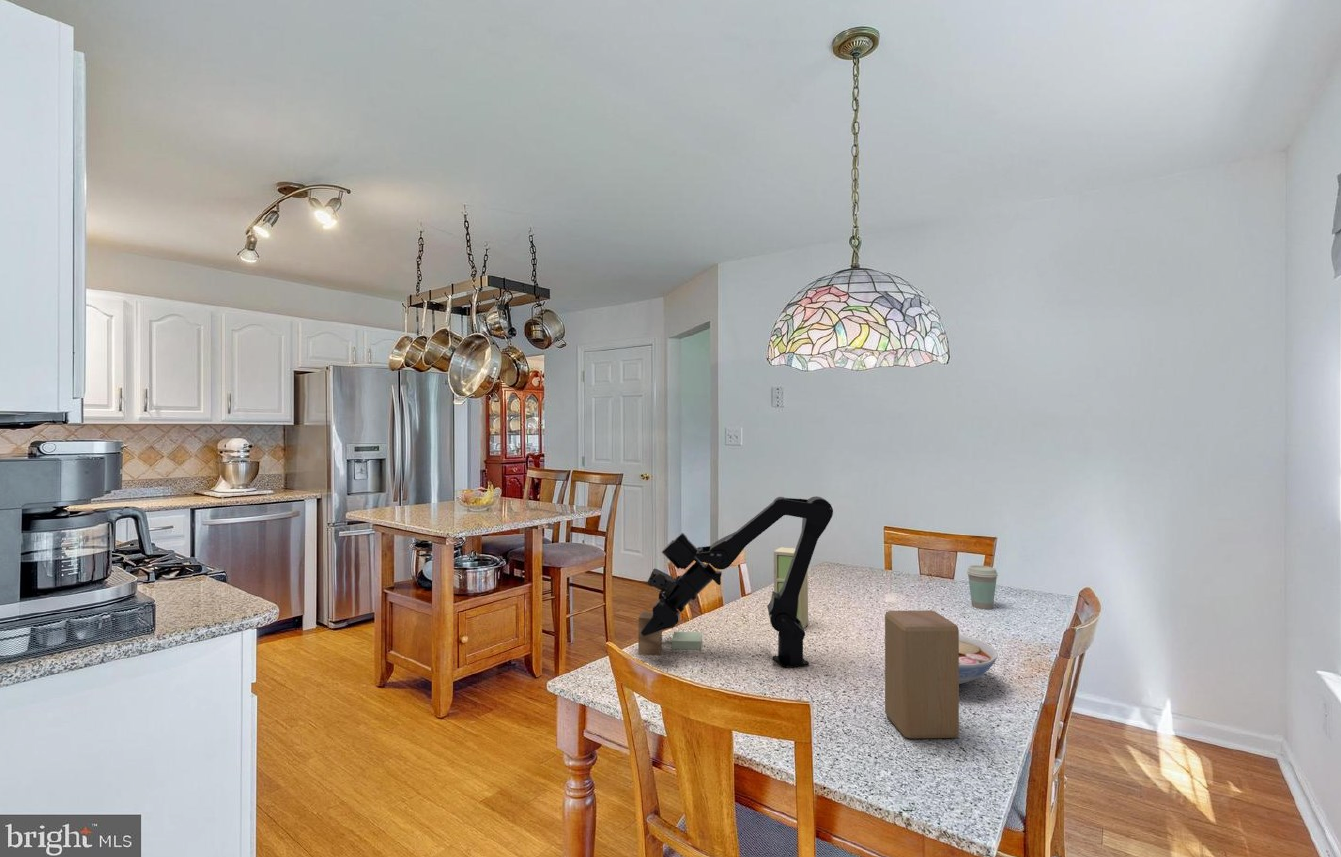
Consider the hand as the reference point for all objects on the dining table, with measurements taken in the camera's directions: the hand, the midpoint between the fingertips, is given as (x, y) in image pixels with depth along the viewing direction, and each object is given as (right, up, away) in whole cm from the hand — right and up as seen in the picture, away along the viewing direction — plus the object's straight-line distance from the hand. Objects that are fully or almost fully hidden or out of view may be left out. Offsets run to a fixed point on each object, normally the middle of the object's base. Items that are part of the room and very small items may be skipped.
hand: (645, 628), depth 147 cm
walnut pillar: (+1, -7, 0) cm, 7 cm away
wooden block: (+52, -7, -35) cm, 63 cm away
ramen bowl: (+65, -7, -13) cm, 66 cm away
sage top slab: (+10, -6, +5) cm, 13 cm away
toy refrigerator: (+39, -7, +24) cm, 47 cm away
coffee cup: (+103, -8, +43) cm, 112 cm away
